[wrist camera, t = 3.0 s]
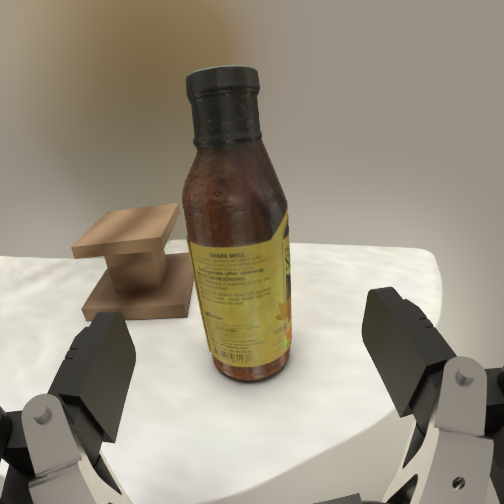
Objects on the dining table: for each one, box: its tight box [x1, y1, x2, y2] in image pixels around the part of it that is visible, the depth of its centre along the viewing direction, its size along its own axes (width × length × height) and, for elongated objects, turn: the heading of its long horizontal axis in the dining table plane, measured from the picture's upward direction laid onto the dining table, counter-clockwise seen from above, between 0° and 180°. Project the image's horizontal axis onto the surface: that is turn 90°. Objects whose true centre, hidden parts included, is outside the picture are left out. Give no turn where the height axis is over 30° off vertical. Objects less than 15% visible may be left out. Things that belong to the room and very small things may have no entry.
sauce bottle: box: [182, 65, 292, 381], centre depth 18 cm, size 7×6×20 cm
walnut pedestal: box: [71, 203, 194, 321], centre depth 30 cm, size 11×11×8 cm
